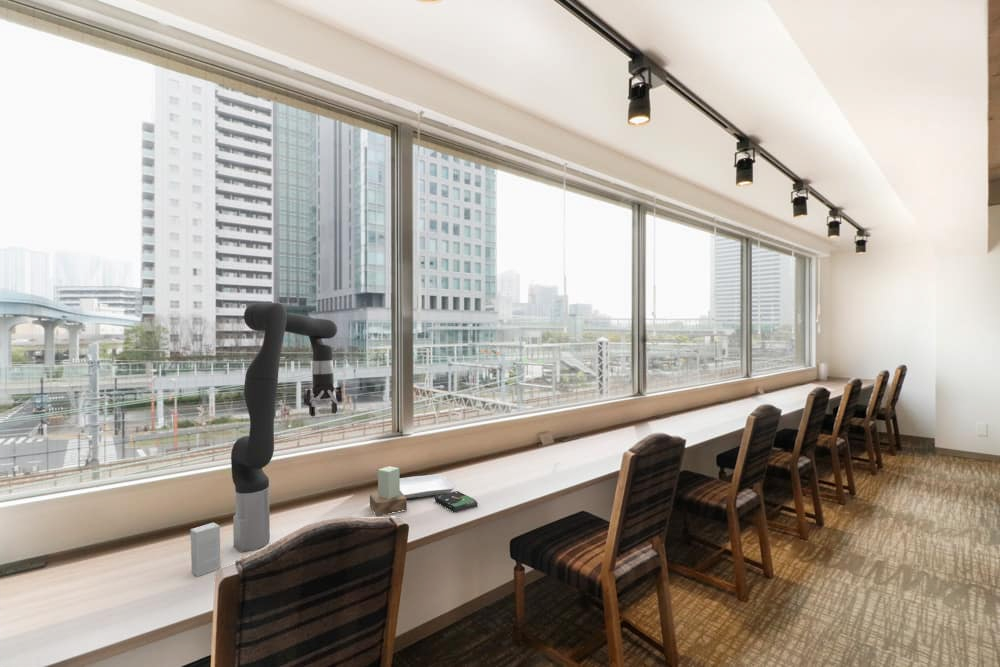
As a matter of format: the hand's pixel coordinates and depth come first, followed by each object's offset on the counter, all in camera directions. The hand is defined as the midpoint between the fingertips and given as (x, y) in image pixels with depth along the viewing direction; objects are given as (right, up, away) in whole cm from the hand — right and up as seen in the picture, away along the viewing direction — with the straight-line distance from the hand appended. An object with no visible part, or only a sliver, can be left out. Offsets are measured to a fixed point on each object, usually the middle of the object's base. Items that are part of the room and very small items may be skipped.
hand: (323, 414), depth 180 cm
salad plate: (+36, -34, +14) cm, 51 cm away
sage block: (+26, -29, -6) cm, 40 cm away
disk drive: (+51, -34, -2) cm, 61 cm away
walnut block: (+26, -34, -6) cm, 43 cm away
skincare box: (-13, -34, -50) cm, 63 cm away
